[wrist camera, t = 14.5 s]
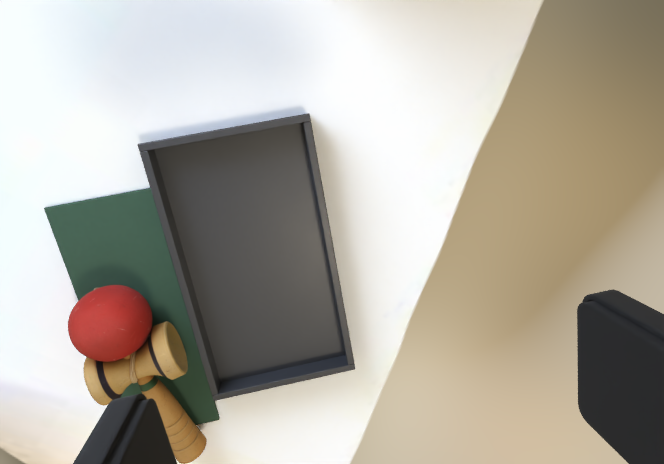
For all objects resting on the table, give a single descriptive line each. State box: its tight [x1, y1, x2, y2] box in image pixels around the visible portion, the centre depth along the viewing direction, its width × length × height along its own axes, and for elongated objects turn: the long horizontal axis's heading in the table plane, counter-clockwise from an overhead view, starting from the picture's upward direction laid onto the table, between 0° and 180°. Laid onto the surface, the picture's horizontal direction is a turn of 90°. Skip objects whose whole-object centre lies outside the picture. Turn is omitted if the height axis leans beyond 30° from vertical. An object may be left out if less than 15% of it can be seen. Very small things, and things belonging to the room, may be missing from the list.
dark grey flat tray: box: [138, 114, 355, 401], centre depth 36 cm, size 23×13×2 cm, turn 10°
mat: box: [44, 188, 219, 425], centre depth 37 cm, size 23×8×1 cm, turn 10°
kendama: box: [68, 285, 206, 464], centre depth 36 cm, size 8×6×18 cm
